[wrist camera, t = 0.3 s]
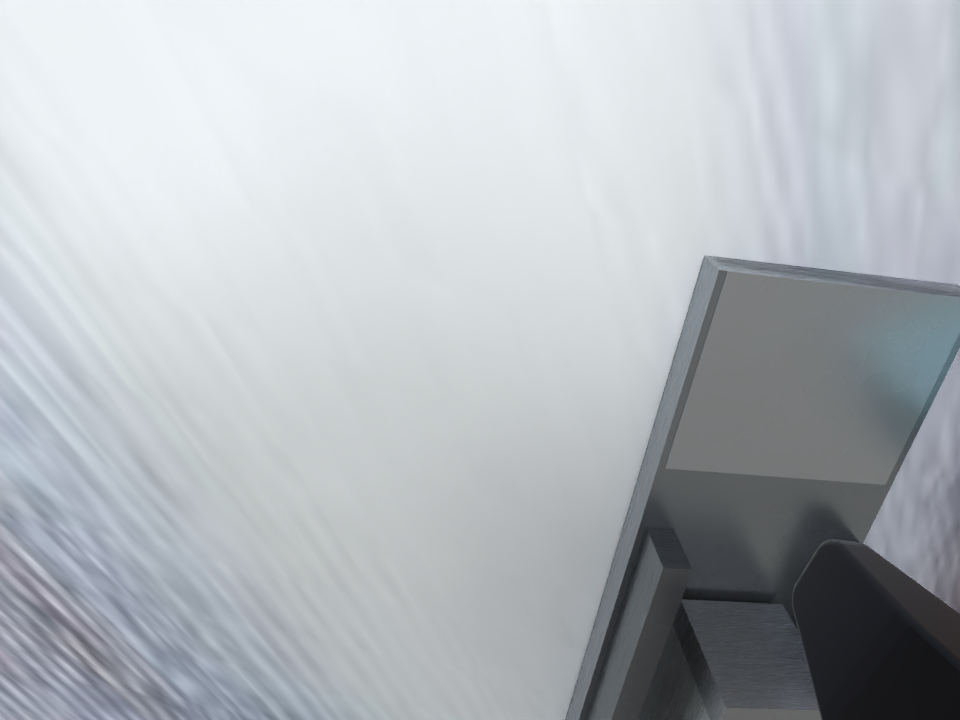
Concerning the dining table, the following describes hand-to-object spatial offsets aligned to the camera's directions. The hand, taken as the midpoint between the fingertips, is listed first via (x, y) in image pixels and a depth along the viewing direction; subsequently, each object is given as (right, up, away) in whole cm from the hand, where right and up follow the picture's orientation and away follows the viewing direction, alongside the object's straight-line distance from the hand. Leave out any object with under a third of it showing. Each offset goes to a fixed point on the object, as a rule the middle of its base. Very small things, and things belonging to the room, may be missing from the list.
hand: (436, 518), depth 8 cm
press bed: (+10, -5, +20) cm, 23 cm away
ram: (+9, -11, +21) cm, 25 cm away
